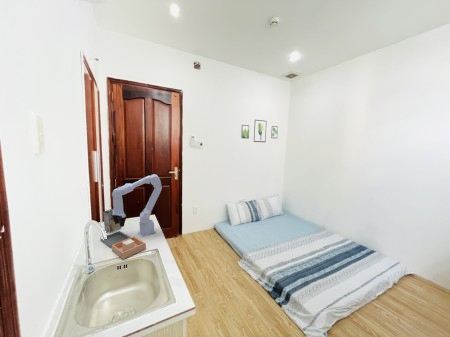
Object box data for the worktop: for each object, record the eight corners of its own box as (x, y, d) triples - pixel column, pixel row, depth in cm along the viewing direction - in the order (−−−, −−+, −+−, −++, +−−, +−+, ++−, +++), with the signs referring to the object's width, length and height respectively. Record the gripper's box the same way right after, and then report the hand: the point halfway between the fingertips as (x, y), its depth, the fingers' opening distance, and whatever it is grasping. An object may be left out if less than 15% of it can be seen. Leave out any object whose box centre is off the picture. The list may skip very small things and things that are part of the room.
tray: (120, 234, 138) (119, 230, 138) (130, 240, 129) (130, 237, 129) (100, 241, 128) (100, 237, 128) (110, 249, 119) (110, 245, 119)
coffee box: (116, 227, 149) (114, 207, 147) (121, 228, 147) (120, 208, 145) (104, 232, 141) (102, 211, 139) (110, 233, 139) (108, 212, 136)
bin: (134, 241, 128) (134, 236, 127) (145, 248, 119) (145, 242, 119) (112, 251, 117) (111, 245, 116) (123, 259, 108) (122, 253, 108)
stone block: (130, 246, 121) (130, 238, 121) (134, 249, 118) (134, 241, 118) (122, 249, 117) (122, 242, 117) (126, 252, 114) (126, 244, 114)
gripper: (107, 205, 131) (108, 224, 133) (117, 210, 122) (118, 230, 124) (117, 203, 137) (119, 221, 138) (128, 207, 128) (129, 226, 130)
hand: (119, 225), depth 132 cm, fingers open, 7 cm apart
